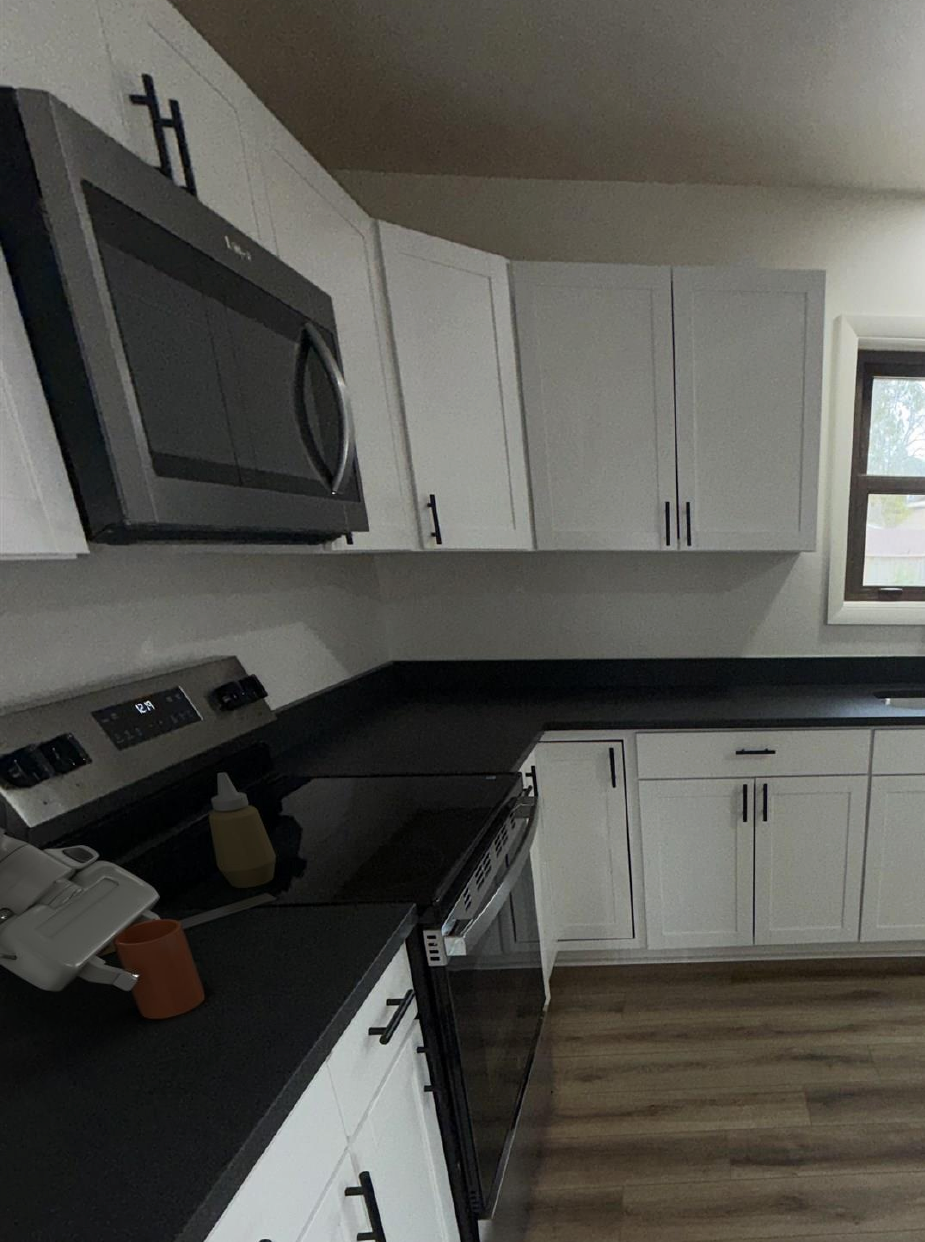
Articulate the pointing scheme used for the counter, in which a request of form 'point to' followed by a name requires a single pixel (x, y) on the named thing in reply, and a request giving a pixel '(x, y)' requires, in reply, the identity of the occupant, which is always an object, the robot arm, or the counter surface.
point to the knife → (218, 913)
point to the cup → (160, 968)
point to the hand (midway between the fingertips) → (156, 962)
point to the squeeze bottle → (240, 838)
